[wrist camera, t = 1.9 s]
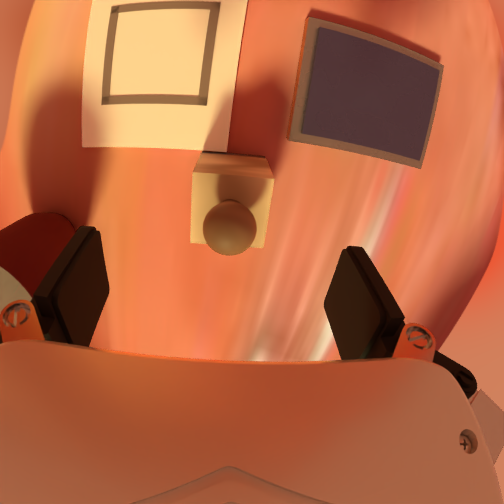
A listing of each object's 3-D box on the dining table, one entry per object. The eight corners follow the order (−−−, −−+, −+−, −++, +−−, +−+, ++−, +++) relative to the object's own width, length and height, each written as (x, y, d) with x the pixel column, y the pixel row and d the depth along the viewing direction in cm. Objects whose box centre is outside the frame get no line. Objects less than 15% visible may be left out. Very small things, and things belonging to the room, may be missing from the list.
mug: (110, 291, 27) (77, 375, 18) (46, 287, 26) (4, 359, 18) (87, 187, 21) (19, 257, 12) (16, 194, 20) (-52, 254, 12)
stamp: (265, 155, 21) (283, 203, 14) (257, 212, 23) (268, 282, 16) (202, 150, 20) (183, 195, 13) (198, 207, 23) (182, 276, 15)
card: (253, -31, 13) (253, -33, 13) (226, 151, 20) (226, 152, 20) (100, -25, 12) (97, -27, 11) (83, 146, 19) (81, 147, 19)
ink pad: (436, 64, 17) (447, 65, 15) (414, 165, 21) (423, 171, 20) (305, 19, 15) (310, 15, 14) (286, 137, 20) (289, 142, 19)
